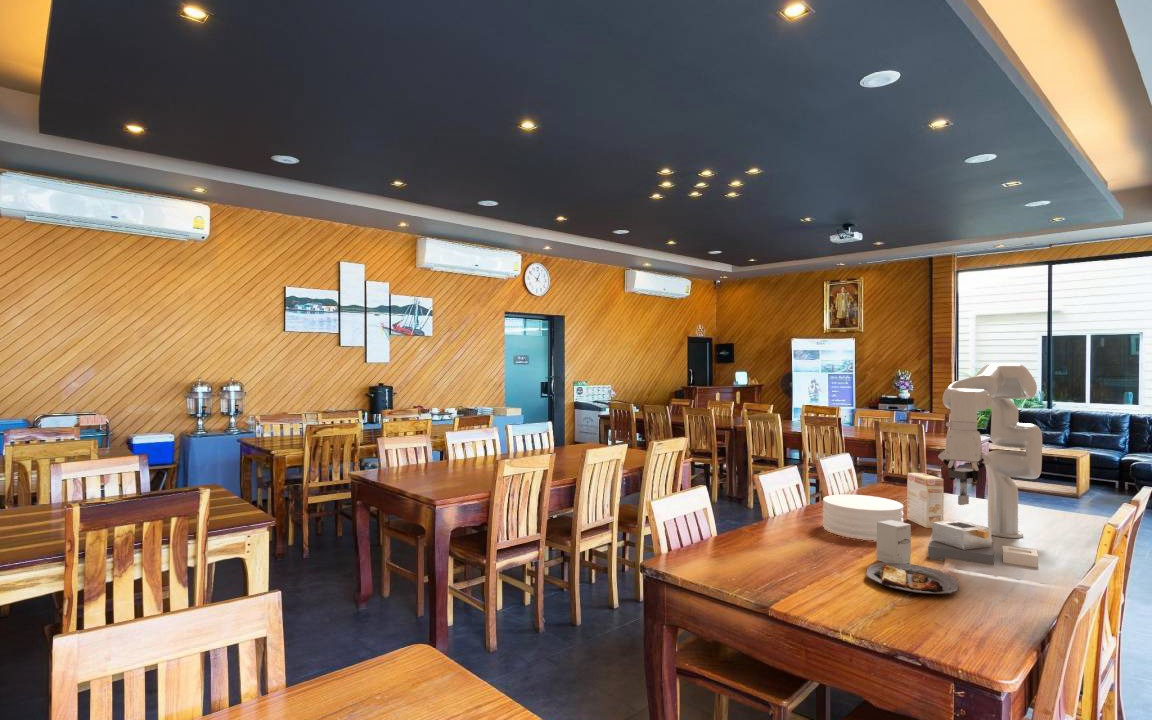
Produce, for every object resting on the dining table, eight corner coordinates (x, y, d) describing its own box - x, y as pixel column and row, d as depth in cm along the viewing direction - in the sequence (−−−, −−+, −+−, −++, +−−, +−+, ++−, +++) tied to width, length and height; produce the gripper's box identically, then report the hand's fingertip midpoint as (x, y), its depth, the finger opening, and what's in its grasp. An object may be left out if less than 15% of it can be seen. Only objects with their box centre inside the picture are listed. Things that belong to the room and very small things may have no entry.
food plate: (957, 606, 165) (957, 593, 165) (861, 589, 177) (861, 577, 177) (958, 579, 186) (958, 567, 186) (872, 566, 198) (872, 555, 198)
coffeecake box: (944, 528, 245) (944, 478, 245) (926, 528, 245) (926, 478, 245) (923, 519, 260) (923, 472, 260) (906, 519, 260) (906, 472, 260)
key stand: (1002, 559, 206) (1002, 545, 206) (1036, 564, 201) (1036, 550, 201) (1003, 565, 199) (1003, 551, 199) (1038, 570, 194) (1038, 556, 194)
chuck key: (948, 504, 208) (948, 469, 208) (964, 501, 213) (964, 468, 213) (962, 506, 204) (962, 472, 204) (978, 504, 209) (978, 470, 209)
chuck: (932, 539, 212) (932, 522, 212) (958, 537, 216) (958, 519, 216) (972, 552, 198) (972, 533, 198) (1000, 549, 202) (1000, 530, 202)
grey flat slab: (932, 545, 221) (932, 534, 221) (993, 554, 211) (993, 542, 211) (928, 558, 206) (928, 545, 206) (993, 568, 196) (993, 555, 196)
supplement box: (896, 566, 197) (896, 526, 197) (875, 560, 204) (875, 521, 204) (911, 563, 200) (911, 524, 200) (890, 557, 207) (890, 519, 207)
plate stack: (906, 529, 244) (906, 499, 244) (899, 546, 220) (899, 513, 220) (830, 519, 259) (830, 491, 259) (816, 534, 235) (816, 503, 236)
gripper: (932, 425, 212) (932, 479, 212) (991, 429, 200) (992, 485, 200) (937, 424, 217) (938, 476, 217) (996, 427, 205) (996, 482, 205)
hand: (963, 480), depth 209 cm, fingers closed on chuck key, 5 cm apart
